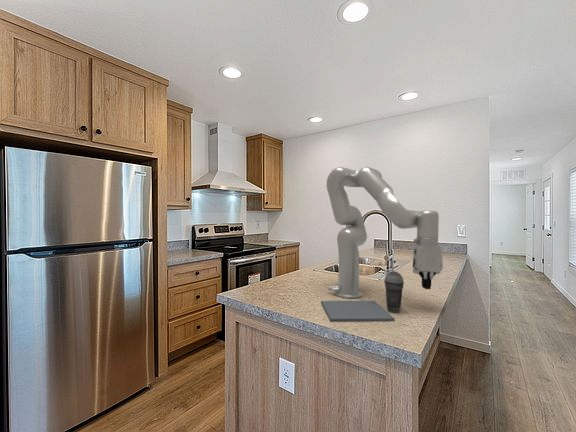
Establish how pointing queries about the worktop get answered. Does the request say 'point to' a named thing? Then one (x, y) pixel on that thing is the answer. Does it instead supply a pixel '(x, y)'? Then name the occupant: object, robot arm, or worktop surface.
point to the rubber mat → (355, 311)
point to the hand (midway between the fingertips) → (426, 288)
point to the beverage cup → (393, 290)
